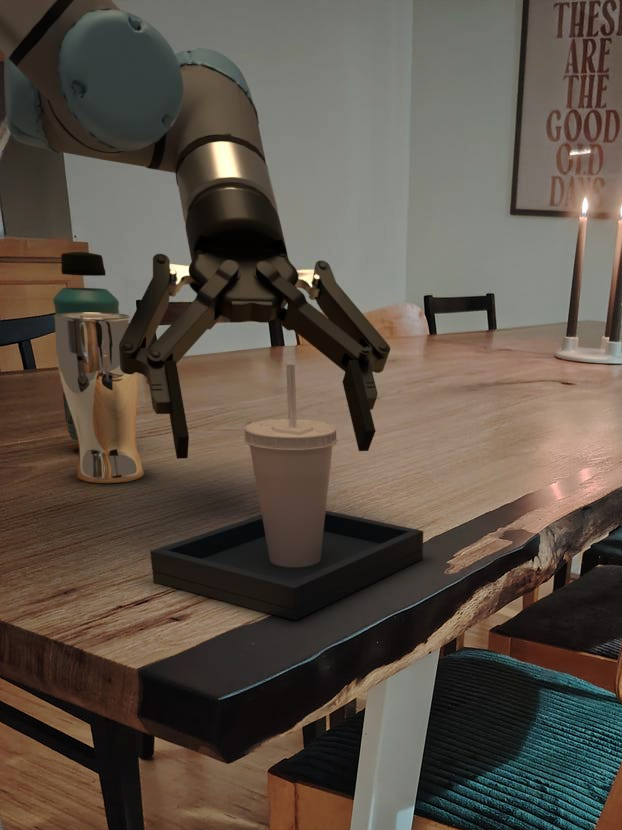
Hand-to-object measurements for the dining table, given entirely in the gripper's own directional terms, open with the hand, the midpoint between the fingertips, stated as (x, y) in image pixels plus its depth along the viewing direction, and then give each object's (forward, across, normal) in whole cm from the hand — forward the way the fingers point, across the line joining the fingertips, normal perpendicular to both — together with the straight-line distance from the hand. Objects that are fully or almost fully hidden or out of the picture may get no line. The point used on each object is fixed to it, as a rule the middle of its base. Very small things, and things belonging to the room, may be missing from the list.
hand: (278, 445), depth 68 cm
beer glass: (-14, +11, -26) cm, 31 cm away
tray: (+9, 0, -3) cm, 9 cm away
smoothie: (+8, 0, -3) cm, 9 cm away
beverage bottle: (-22, +11, -34) cm, 43 cm away
